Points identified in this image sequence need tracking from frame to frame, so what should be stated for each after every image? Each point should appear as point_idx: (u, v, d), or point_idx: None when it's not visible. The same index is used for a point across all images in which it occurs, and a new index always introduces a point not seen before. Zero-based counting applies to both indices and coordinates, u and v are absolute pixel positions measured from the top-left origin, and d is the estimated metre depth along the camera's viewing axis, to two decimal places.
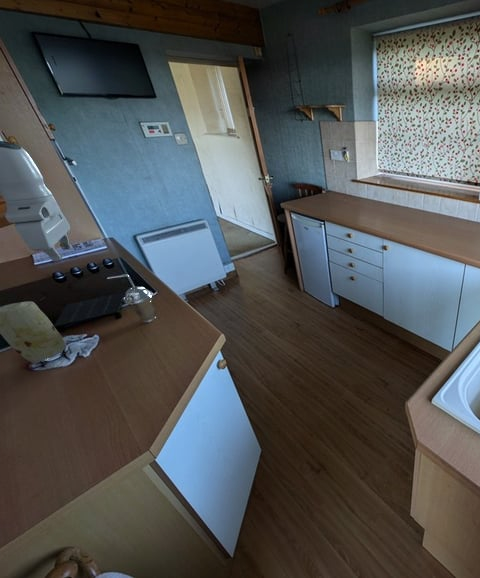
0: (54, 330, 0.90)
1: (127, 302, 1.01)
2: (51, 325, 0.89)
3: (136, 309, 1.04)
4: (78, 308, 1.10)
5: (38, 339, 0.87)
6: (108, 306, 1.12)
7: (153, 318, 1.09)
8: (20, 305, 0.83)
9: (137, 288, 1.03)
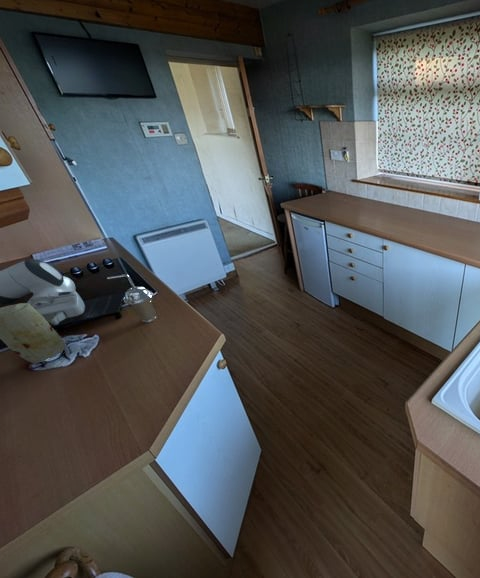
0: (52, 331, 0.89)
1: (127, 302, 1.01)
2: (49, 326, 0.89)
3: (136, 309, 1.04)
4: None
5: (36, 340, 0.86)
6: (108, 306, 1.12)
7: (153, 318, 1.09)
8: (16, 307, 0.82)
9: (137, 288, 1.03)
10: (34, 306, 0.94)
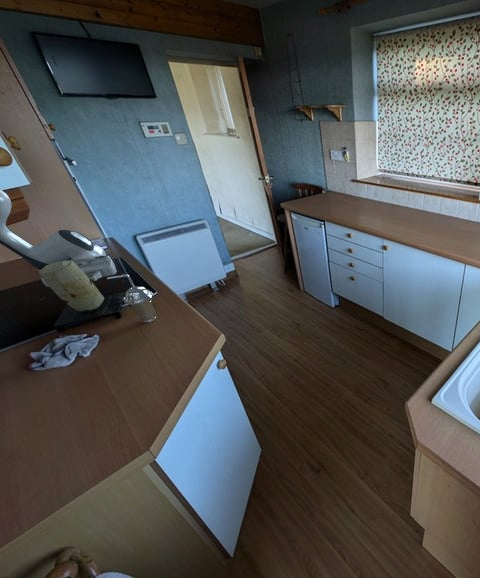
0: (91, 284, 1.07)
1: (127, 302, 1.01)
2: (89, 280, 1.06)
3: (136, 309, 1.04)
4: None
5: (81, 292, 1.04)
6: (108, 306, 1.12)
7: (153, 318, 1.09)
8: (63, 264, 0.98)
9: (137, 288, 1.03)
10: None
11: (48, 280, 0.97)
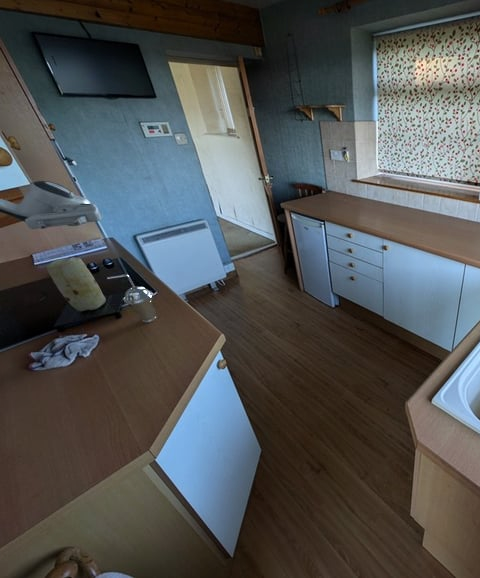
0: (95, 283, 1.09)
1: (127, 302, 1.01)
2: (93, 279, 1.08)
3: (136, 309, 1.04)
4: None
5: (83, 289, 1.05)
6: (108, 306, 1.12)
7: (153, 318, 1.09)
8: (70, 259, 1.02)
9: (137, 288, 1.03)
10: (60, 211, 1.12)
11: (54, 274, 0.99)
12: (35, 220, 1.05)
